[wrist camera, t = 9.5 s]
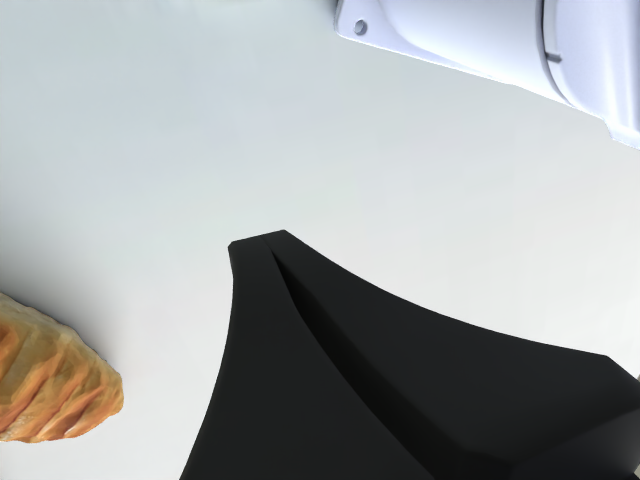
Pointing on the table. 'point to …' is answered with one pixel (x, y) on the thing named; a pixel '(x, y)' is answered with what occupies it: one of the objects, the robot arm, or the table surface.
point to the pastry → (50, 378)
